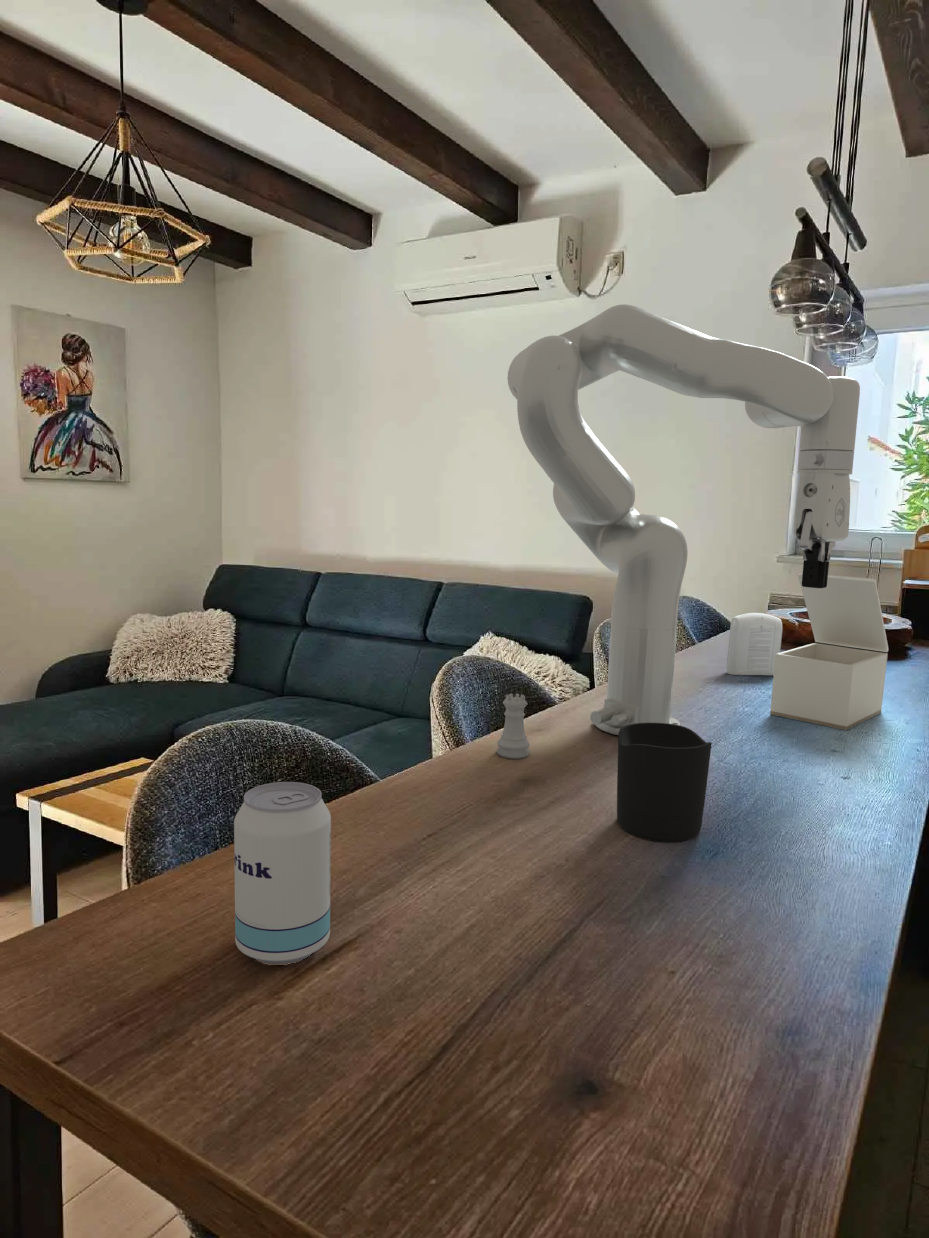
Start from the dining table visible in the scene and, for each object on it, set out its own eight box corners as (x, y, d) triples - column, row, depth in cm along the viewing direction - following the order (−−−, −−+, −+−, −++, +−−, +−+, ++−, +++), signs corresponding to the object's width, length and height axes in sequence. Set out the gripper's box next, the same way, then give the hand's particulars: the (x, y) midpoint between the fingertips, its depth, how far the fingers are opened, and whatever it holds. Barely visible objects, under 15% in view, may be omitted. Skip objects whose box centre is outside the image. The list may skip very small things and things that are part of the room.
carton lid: (874, 581, 129) (875, 579, 129) (798, 574, 137) (799, 572, 137) (887, 652, 138) (888, 649, 138) (815, 641, 146) (816, 639, 146)
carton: (846, 730, 128) (853, 666, 126) (770, 714, 136) (775, 653, 134) (881, 712, 139) (887, 653, 138) (808, 698, 147) (814, 643, 146)
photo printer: (770, 672, 170) (776, 611, 168) (781, 676, 165) (787, 615, 164) (722, 672, 168) (727, 611, 166) (732, 676, 164) (737, 614, 162)
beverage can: (218, 945, 63) (216, 792, 61) (296, 915, 68) (296, 772, 66) (267, 986, 58) (266, 821, 56) (348, 950, 63) (350, 797, 61)
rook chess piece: (490, 756, 110) (492, 696, 109) (504, 747, 114) (507, 690, 113) (521, 762, 108) (524, 701, 107) (535, 753, 112) (537, 694, 111)
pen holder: (714, 822, 90) (721, 732, 88) (690, 853, 82) (697, 754, 80) (630, 803, 95) (636, 717, 93) (599, 831, 87) (605, 737, 85)
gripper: (832, 461, 116) (819, 593, 119) (869, 466, 127) (857, 586, 129) (779, 462, 121) (768, 588, 124) (819, 466, 132) (808, 582, 135)
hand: (814, 587), depth 127 cm, fingers closed
